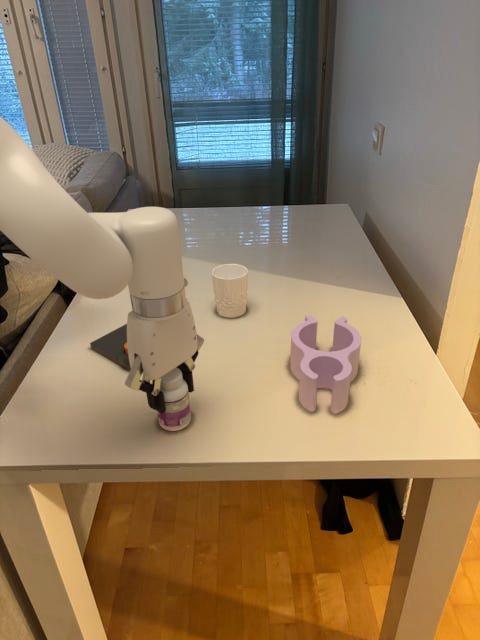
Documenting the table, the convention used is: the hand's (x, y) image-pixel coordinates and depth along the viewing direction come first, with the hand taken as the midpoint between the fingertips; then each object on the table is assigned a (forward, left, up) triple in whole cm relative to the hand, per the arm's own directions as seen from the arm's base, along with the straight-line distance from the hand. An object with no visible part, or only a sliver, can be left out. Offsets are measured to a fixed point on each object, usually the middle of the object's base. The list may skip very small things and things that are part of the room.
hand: (172, 397), depth 74 cm
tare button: (+7, +18, -2) cm, 19 cm away
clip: (+25, -13, -5) cm, 29 cm away
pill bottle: (0, 0, -5) cm, 5 cm away
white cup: (+33, +16, -5) cm, 37 cm away
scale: (+12, +22, -5) cm, 26 cm away
